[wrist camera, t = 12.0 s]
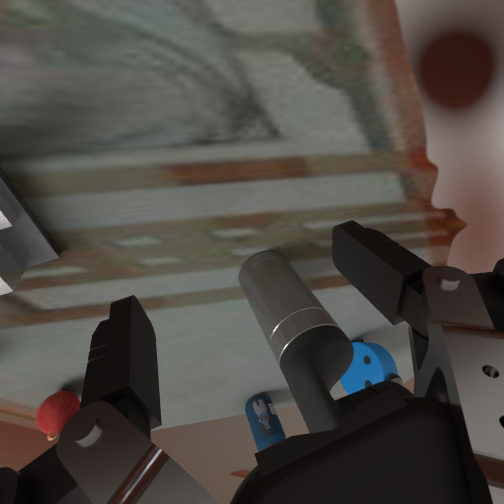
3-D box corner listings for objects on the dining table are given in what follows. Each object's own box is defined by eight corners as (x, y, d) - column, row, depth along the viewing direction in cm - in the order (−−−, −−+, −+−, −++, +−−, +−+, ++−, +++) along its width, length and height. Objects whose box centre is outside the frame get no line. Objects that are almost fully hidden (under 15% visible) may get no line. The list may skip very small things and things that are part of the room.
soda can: (254, 410, 74) (272, 461, 64) (238, 405, 70) (253, 458, 60) (274, 395, 73) (294, 443, 63) (258, 388, 69) (277, 440, 59)
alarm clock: (343, 365, 77) (381, 419, 65) (327, 365, 74) (364, 421, 62) (370, 331, 72) (416, 382, 60) (354, 329, 69) (400, 383, 57)
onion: (77, 376, 48) (68, 423, 41) (87, 395, 51) (80, 441, 44) (38, 386, 46) (22, 436, 40) (50, 405, 49) (37, 454, 43)
